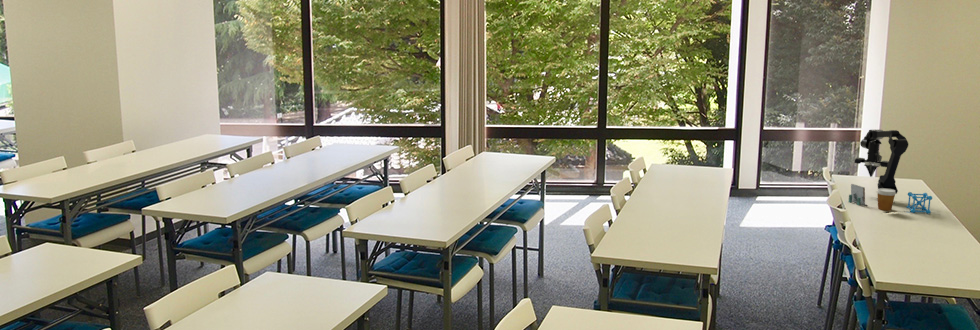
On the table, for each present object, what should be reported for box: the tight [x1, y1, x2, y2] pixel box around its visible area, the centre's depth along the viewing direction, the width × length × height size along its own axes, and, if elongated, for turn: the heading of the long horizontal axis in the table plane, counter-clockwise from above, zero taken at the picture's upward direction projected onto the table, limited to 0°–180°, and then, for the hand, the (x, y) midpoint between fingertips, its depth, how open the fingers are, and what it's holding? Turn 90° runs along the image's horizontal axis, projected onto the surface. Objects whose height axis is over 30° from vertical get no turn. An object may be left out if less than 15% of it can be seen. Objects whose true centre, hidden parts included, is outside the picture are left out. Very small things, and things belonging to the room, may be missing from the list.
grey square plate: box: [850, 183, 866, 206], centre depth 438 cm, size 1×10×11 cm, turn 13°
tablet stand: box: [847, 194, 869, 207], centre depth 440 cm, size 10×13×6 cm
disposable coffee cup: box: [876, 188, 897, 214], centre depth 425 cm, size 10×10×12 cm
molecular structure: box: [906, 191, 933, 215], centre depth 425 cm, size 10×10×10 cm
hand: (871, 176), depth 460 cm, fingers closed
